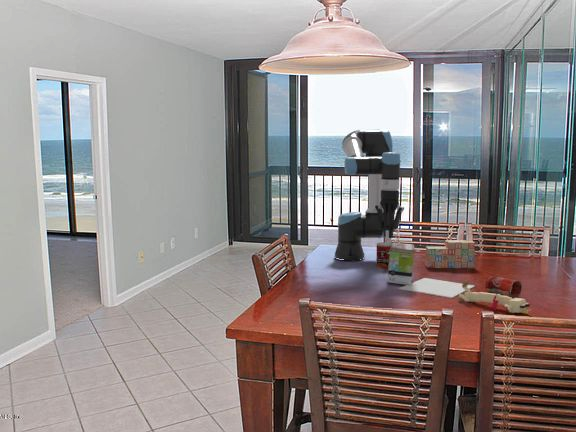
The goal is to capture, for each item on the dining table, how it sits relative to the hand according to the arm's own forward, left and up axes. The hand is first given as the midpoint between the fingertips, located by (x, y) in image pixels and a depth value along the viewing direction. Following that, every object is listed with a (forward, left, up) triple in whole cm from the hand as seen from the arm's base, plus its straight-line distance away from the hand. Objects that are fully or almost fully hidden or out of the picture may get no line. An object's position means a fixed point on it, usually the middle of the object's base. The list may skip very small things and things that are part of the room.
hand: (388, 245), depth 234 cm
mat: (+22, 0, -15) cm, 27 cm away
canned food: (-15, +22, -15) cm, 31 cm away
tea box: (+5, 0, -15) cm, 15 cm away
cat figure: (+50, -12, -15) cm, 54 cm away
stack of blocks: (+9, +41, -15) cm, 45 cm away
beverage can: (+46, +6, -15) cm, 49 cm away
